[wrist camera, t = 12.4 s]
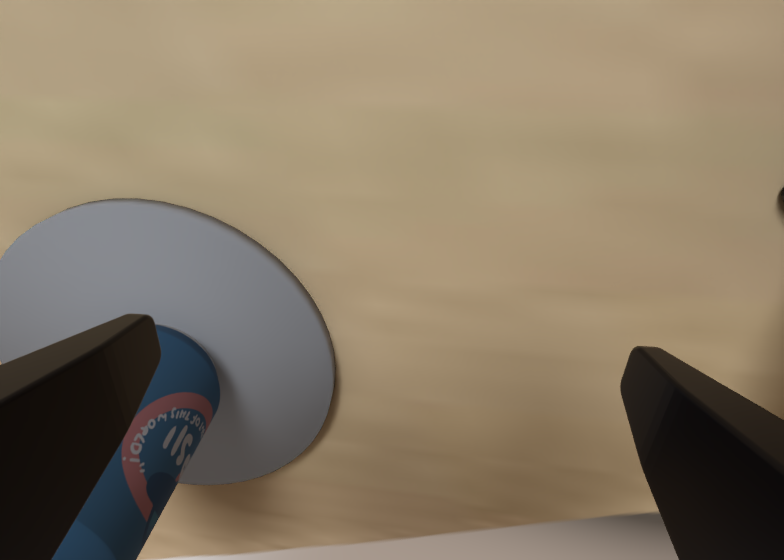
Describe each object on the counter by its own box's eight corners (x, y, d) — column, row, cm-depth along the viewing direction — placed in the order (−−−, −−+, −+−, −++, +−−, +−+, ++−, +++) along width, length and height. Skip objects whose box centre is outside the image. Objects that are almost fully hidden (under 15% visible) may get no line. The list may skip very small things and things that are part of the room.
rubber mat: (404, 373, 26) (403, 385, 25) (205, 509, 32) (199, 523, 31) (118, 113, 20) (104, 117, 19) (-53, 340, 27) (-69, 351, 26)
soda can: (236, 421, 27) (112, 680, 16) (114, 411, 27) (-86, 659, 16) (221, 316, 24) (54, 555, 13) (83, 306, 24) (-192, 531, 13)
